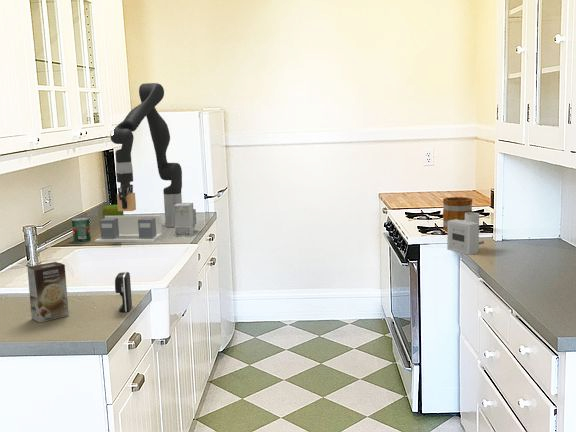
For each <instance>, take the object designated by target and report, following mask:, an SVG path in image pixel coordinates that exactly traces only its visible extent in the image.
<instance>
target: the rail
mask: <svg viewBox="0 0 576 432" xmlns="http://www.w3.org/2000/svg"><path fill="white" fill-rule="evenodd" d="M155 237H156V236H154V237H153V238H155ZM153 238H139V236H117V237H115V238H101V235H100V236H99V237H97V239H153Z"/></svg>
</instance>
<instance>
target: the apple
mask: <svg viewBox="0 0 576 432" xmlns="http://www.w3.org/2000/svg"><path fill="white" fill-rule="evenodd" d="M105 216H124V211H118V204H113V203H112V204H109V205H105V206H104V207H103V209H102V217H103V218H102V219H104V218H105Z"/></svg>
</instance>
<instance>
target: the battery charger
mask: <svg viewBox="0 0 576 432" xmlns="http://www.w3.org/2000/svg"><path fill="white" fill-rule="evenodd" d="M131 285H132V284H131V273H130V272H128V271H124V272H123V271H122V272H119V273H118V274H117V275H116V277H115V278H114V287H115V288H114V290H115V293H116V294H119V296H120V297H121V299H122V304H121V305H120V307H119V308H118V311H119V312H121V313H123V312H124V313H127V312H130V310H131V307H132V306H133V299H132V288H131V287H132V286H131Z"/></svg>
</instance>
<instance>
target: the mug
mask: <svg viewBox="0 0 576 432" xmlns="http://www.w3.org/2000/svg"><path fill="white" fill-rule="evenodd" d="M442 201H443V207H442V209H443V210H442V220H443V223H442V224H443V225H442V231H443V230H445V231H446V233H448V221H449V220H455V219H457V220H465V213H473V209H472V208H473V198H470V197H463V196H461V197H460V196H454V197H452V196H451V197H444V198H443V199H442ZM445 231H444V232H445Z"/></svg>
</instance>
